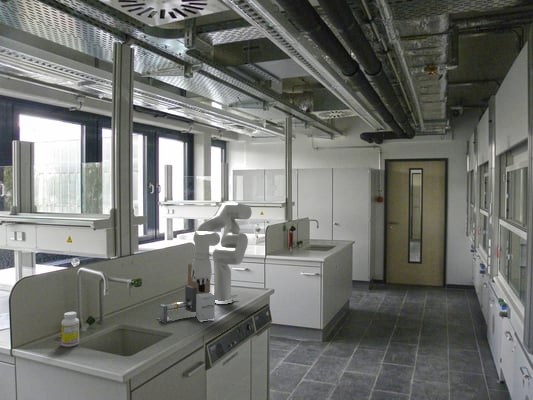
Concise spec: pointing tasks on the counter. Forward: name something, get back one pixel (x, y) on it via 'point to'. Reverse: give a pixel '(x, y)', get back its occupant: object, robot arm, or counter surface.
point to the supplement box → (205, 306)
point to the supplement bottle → (70, 330)
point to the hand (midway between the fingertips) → (201, 291)
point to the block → (194, 284)
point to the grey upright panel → (191, 297)
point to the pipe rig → (172, 307)
